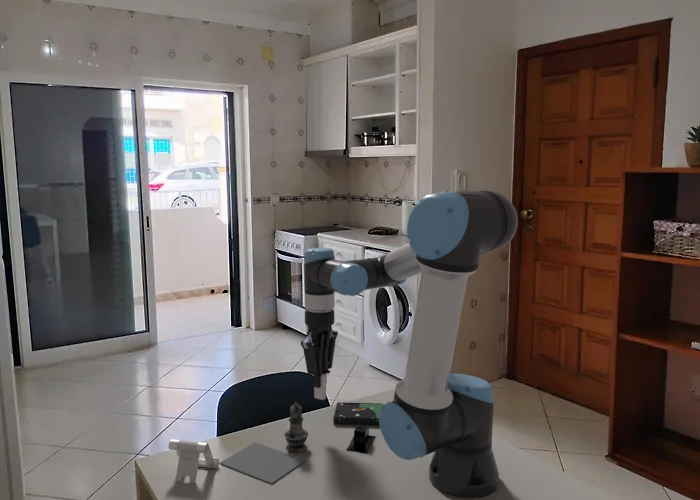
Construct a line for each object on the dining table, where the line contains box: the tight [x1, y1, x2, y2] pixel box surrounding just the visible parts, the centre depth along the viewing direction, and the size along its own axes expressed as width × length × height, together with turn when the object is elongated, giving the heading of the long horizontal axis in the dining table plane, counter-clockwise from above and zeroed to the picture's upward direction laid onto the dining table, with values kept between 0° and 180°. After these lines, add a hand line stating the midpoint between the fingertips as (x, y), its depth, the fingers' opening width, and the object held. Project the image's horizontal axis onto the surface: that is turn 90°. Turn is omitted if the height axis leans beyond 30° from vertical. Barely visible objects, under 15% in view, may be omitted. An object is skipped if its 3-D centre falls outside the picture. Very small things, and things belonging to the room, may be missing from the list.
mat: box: [219, 442, 307, 485], centre depth 134 cm, size 16×12×1 cm
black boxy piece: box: [345, 425, 377, 454], centre depth 143 cm, size 12×7×5 cm, turn 165°
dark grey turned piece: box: [283, 401, 309, 454], centre depth 140 cm, size 6×6×12 cm
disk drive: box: [333, 401, 386, 427], centre depth 158 cm, size 10×3×15 cm
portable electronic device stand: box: [168, 439, 220, 484], centre depth 129 cm, size 9×8×8 cm
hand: (320, 397), depth 148 cm, fingers closed
